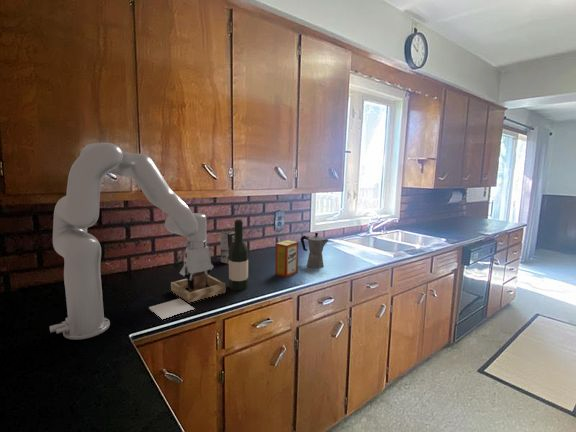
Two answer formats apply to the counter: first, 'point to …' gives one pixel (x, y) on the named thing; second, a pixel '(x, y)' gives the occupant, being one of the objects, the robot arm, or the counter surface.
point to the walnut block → (198, 281)
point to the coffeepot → (314, 250)
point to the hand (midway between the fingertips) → (197, 286)
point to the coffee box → (226, 245)
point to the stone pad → (171, 308)
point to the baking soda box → (286, 258)
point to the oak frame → (215, 289)
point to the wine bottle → (238, 260)
